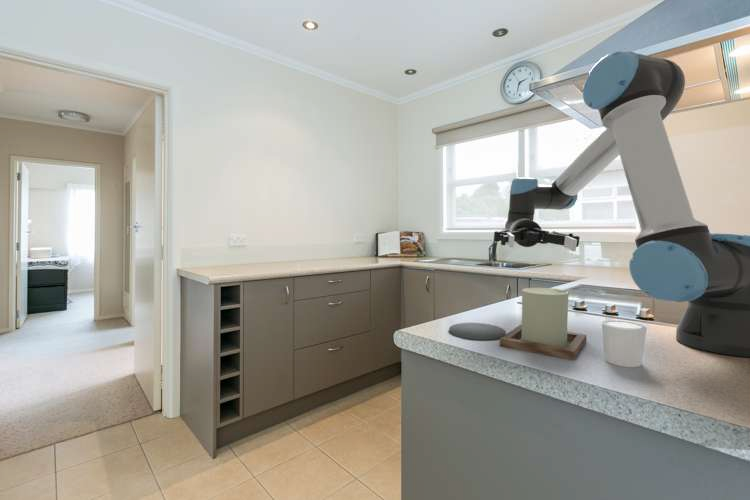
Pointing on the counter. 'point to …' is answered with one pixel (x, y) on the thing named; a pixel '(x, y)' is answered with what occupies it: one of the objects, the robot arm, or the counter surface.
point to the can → (545, 316)
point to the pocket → (568, 353)
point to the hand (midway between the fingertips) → (543, 243)
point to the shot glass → (623, 343)
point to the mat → (477, 331)
